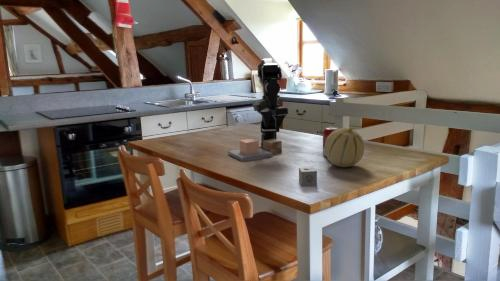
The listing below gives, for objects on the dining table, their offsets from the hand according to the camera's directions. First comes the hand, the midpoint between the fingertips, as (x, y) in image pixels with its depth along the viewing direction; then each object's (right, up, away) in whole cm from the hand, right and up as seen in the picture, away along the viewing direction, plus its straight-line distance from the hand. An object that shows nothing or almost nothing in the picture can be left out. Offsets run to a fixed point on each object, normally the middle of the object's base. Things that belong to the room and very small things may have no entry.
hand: (271, 128), depth 173 cm
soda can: (+24, -12, -9) cm, 29 cm away
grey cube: (+9, -20, -44) cm, 49 cm away
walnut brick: (0, -10, +2) cm, 11 cm away
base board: (-10, -12, -4) cm, 16 cm away
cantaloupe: (+26, -15, -25) cm, 39 cm away
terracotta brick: (-10, -10, -4) cm, 15 cm away
